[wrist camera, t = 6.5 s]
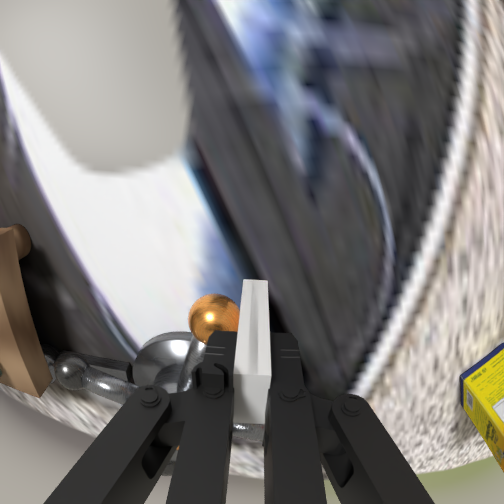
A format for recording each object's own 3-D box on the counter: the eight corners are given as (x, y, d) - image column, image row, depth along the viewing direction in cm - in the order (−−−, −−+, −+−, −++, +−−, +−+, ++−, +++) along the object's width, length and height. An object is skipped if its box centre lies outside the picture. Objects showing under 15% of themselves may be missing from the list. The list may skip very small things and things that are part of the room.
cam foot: (26, 307, 18) (13, 320, 16) (249, 336, 19) (249, 355, 17) (52, 383, 21) (43, 397, 19) (242, 414, 22) (242, 433, 20)
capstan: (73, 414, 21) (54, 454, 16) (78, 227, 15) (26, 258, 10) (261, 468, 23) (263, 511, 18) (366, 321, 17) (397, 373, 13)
